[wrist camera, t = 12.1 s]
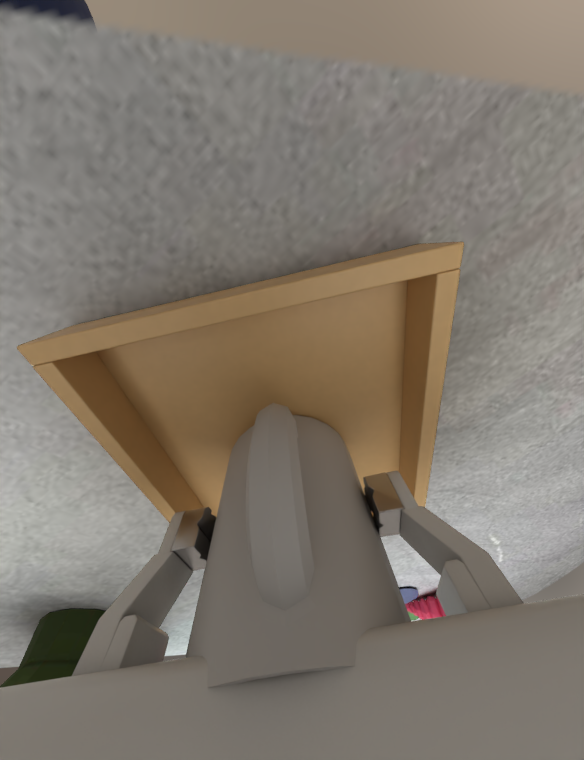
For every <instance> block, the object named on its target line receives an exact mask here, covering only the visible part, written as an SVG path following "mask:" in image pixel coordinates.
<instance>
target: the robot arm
mask: <svg viewBox="0 0 584 760" xmlns="http://www.w3.org/2000/svg"><path fill="white" fill-rule="evenodd" d="M363 482H364V485H365V487H364V493H365V497H366V500H367V502H368V505H369V508H370V510H371V512H372V513H373V519H374V522H375V524H376V527H377V530H378V532H379V535H380V537H383V536H390V535H396V534H400V536H401V537H402V538H403V539H404V540H405V541H406V542H407V543H408V544H409V545H410V546H411V547H412V548H414V549H415V550H416V551H417V552H418V553H419V554H420V555H421V556H422V557H423V558H424V559H425V560H426V561H427V562H428V563H429V564H430V565H431V566H432V567H433V568H434V569H435V570H436V571H437V572H438V573H439V574H440V575H441V578H440V581H439V585H438V588H437V592H436V595H437V597H438V599H439V601H440V604H441V606H442V608H443V610H444V612H445V614H446V616H443V617H437V618H430V619H424V620H418V621H412V622H406V623H399V624H393V625H387V626H381V627H374V628H370V629H368V630H366V631H365V632H364V633H363V634H362V635H361V636H360V638H359V639H358V641H357V644H356V658H355V666H349V667H342V668H336V669H329V670H321V671H311V672H302V673H292V674H285V675H279V676H273V677H267V678H261V679H255V680H250V681H246V682H242V683H237V684H231V685H224V686H217V687H211V688H208V663H207V660H206V659H205V658H204V657H203V656H194V657H188V658H182V659H176V660H169V661H163V659H164V655H165V651H166V648H167V644H168V640H169V636H168V634H167V633H165V632H164V631H162V630H160V629H159V627H160V625H161V624H162V622H163V620H164V619H165V617H166V616H167V614H168V612H169V611H170V609H171V607H172V606H173V604H174V602H175V601H176V599H177V598H178V596H179V594H180V593H181V591H182V589H183V588H184V586H185V584H186V583H187V581H188V580H189V578H190V576H191V575H192V573H193V571H195V570H199V569H204V568H205V567H206V562H207V558H208V553H209V549H210V544H211V540H212V535H213V531H214V526H215V521H216V516H214V515H212V514H211V512H212V510H211V509H210V508H209V507H205V508H199V509H194V510H188V511H182V512H177V513H175V514H174V515H173V517H172V519H171V522H170V524H169V527H168V529H167V532H166V534H165V537H164V539H163V542H162V545H161V547H160V550H159V552H158V554H156V555H154V556H153V557H152V558H151V560H150V561H149V562H148V563H147V564H146V565H145V566H144V568H143V569H142V570H141V571H140V572H139V573H138V575H137V576H136V577H135V578H134V579H133V580H132V582H131V583H130V584H129V585H128V586H127V587H126V588H125V590H124V591H123V592H122V593H121V594H120V595H119V597H118V598H117V599H116V600H115V601H114V602H113V604H112V605H111V606H110V607H109V608H108V609H107V610H106V612H105V613H104V614H103V615H102V616H101V617H100V619H99V620H98V622H97V624H96V626H95V628H94V631H93V633H92V635H91V637H90V639H89V641H88V643H87V645H86V647H85V649H84V651H83V653H82V656H81V658H80V660H79V662H78V664H77V666H76V668H75V670H74V672H73V674H72V676H70V677H63V678H57V679H51V680H45V681H39V682H32V683H26V684H20V685H14V686H7V687H1V688H0V760H584V594H580V595H574V596H567V597H561V598H555V599H549V600H542V601H536V602H531V603H523V602H522V600H521V599H520V597H519V596H518V594H517V593H516V592H515V590H514V589H513V587H512V586H511V585H510V583H509V582H508V580H507V579H506V577H505V576H504V575H503V573H502V572H501V570H500V569H499V568H498V566H497V565H496V563H495V562H494V560H493V559H492V558H491V556H490V555H489V553H487V552H486V551H485V550H483V549H482V548H480V547H479V546H478V545H476V544H475V543H473V542H472V541H471V540H469V539H468V538H466V537H465V536H464V535H462V534H461V533H460V532H458V531H457V530H455V529H454V528H453V527H451V526H450V525H448V524H447V523H446V522H444V521H443V520H441V519H440V518H439V517H437V516H436V515H434V514H433V513H432V512H430V511H429V510H427V509H426V508H425V507H423V506H418V504H417V503H416V501H415V499H414V497H413V495H412V494H411V492H410V490H409V488H408V487H407V485H406V483H405V481H404V480H403V478H402V476H401V474H400V473H399V472H398V471H391V472H387V473H380V474H375V475H370V476H366V477H364V478H363Z"/></svg>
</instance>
